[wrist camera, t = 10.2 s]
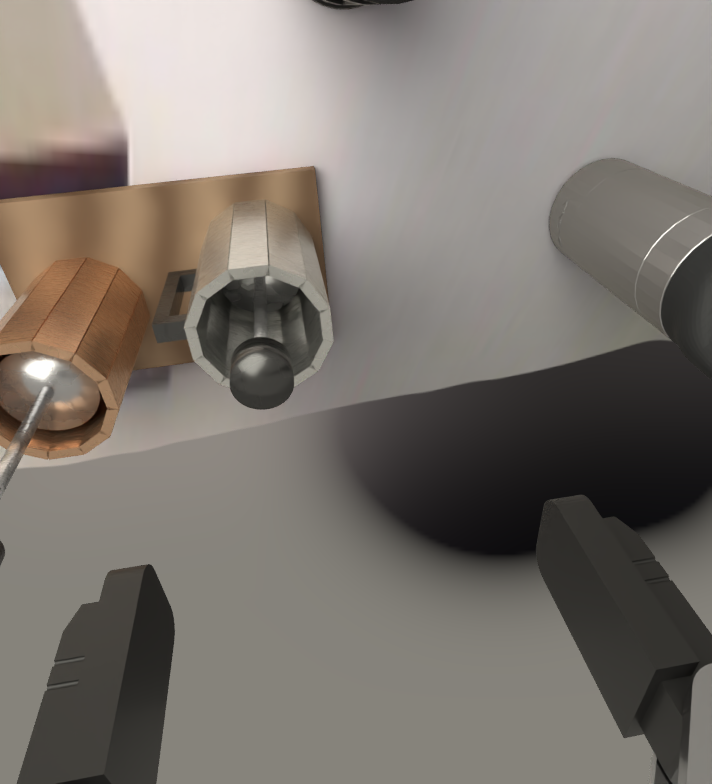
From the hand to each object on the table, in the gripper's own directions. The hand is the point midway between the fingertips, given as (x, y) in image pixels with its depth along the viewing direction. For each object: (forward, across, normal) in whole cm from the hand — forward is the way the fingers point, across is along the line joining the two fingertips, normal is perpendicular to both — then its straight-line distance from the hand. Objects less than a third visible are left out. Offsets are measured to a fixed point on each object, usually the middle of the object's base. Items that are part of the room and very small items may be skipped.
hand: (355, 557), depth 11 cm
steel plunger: (+35, +3, +8) cm, 36 cm away
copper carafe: (+39, +19, +11) cm, 45 cm away
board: (+40, +10, +10) cm, 43 cm away
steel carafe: (+39, +4, +8) cm, 40 cm away
